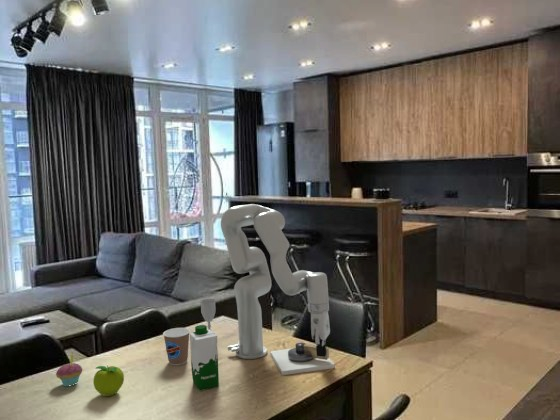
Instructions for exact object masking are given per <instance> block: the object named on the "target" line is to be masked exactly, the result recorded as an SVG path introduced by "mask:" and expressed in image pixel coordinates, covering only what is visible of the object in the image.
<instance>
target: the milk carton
mask: <svg viewBox="0 0 560 420" xmlns="http://www.w3.org/2000/svg"><path fill="white" fill-rule="evenodd" d="M207 326H208V325H206V324H199V325H196V326H195V327H194V331H193V332H189V341H190V342H189V344H190V345H189V346H190V362H191V363H190V366H191V376H192V381H193V382H192V383H193V384H194V386H195V387H196V388H197V390H198V391H205V390H209V389H211V388H217V387H219V386H220V383H219V382H220V381H219V379H220V377H219V356H218V335H217V334H216V332H214V331H212V329H211V328H210V329H211V330H210V329H209V330H208V327H207Z"/></svg>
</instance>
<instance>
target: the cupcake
mask: <svg viewBox="0 0 560 420" xmlns="http://www.w3.org/2000/svg"><path fill="white" fill-rule="evenodd" d="M73 359H74V352H73V351H71V354H70V363H66V364H63V365H61V366H60V367H59V368H57V371H56V374H55V376H56V378H58V379H60V381H61V383H62V385H63V386H64V385H65V386H64V387H66V386H69V385H73V384H75V383H77V382H78V383H79V379H80V377H81V374H82V373H83V367H82V366H81V364H79V363H76V362H75V363H74V362H73ZM78 383H77V384H78ZM69 387H70V386H69Z"/></svg>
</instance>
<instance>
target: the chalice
mask: <svg viewBox="0 0 560 420" xmlns="http://www.w3.org/2000/svg"><path fill="white" fill-rule="evenodd" d="M216 302H217V299H215V298H204V299H200V300H199V303H200V312H201V315H202V318H203V319H204V321H205V322H207V325H206V326H207V330H209V329H210V330H211V331H212V325H211V322H212V321H213V319H214V317H215V316H216V315H215V314H216V312H217V311H216Z"/></svg>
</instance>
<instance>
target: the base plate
mask: <svg viewBox="0 0 560 420" xmlns="http://www.w3.org/2000/svg"><path fill="white" fill-rule="evenodd" d="M291 349H293V348H292V347H291V348H286V349H278V350H272V351H271V350H270V351H269V352H270V353H269V355H270V357H271V359H272V360H273V362H274V364H275V365H276V368H277V369H278V371H279V373H280V374H281V376H286V375H294V374H295V375H296V374H300V373H302V374H303V373H309V372H314V371H323V370H330V369H335V368H336V364H335V363H334V361H333V360H332V358H330V357H329V358H328V359H327V360H324V359H318V358H314V359H313V360H311V361H308V362H293V361H291V360H289V359H288V351H289V350H291Z"/></svg>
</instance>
